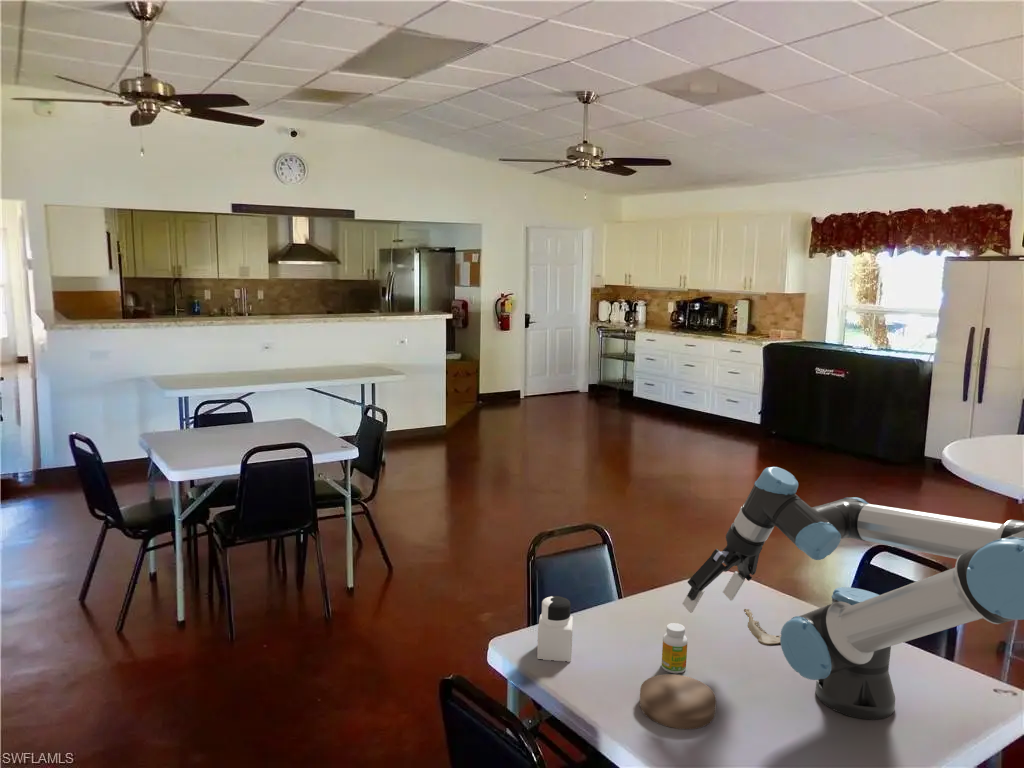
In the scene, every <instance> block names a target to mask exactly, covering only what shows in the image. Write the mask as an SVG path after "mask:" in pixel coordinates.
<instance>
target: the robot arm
mask: <svg viewBox="0 0 1024 768" xmlns="http://www.w3.org/2000/svg"><path fill="white" fill-rule="evenodd" d="M798 489H799V482H798V480H797V478H796V477H795V475H793V474H792V473H791V472H790V471H788V470H786V469H784V468H781V467H778V466H769V467H768V466H767V467H766V468H764V469H763V470H762V472H761V473H760V475H759V477H758V478H757V479H756V480H755V481H754V484H753V487H752V488H751V490H750V492H749V494H748V496H747V498H746V500H745V502H744V503H743V504H742V506H741V507H739V512H737V515H736V517H735V519H734V520H733V522H732V523H731V525H730V527H729V529H728V530H727V532H726V535H725V540H726V546H725V547H724V548H723V549H722V551H720V550H719V548H715V549H714V550H713V552H712V553H711V555H710V556H709V557H708V558H707V560H706V561H705V562H704V563H703V564H702V565H701V566H700V567H699V568H698V569H697V571H696V572H694V574H693V575H692V576H691V577H690V578H689V579H688V581H687V583H688V585H689V586H690V587H691V588H690V589H689V591H688V593H687V594H686V597H684V600H683V602H682V605H683V606H684V607H685V609H686V610H687V611H688V612H689V613H693V612H694V610H695V608H696V606H697V605H698V603H699V602H700V600H701V598H702V597H703V595H704V593H705V588H706V587H708V586H709V585H710V584H711V583H712V582H713V581H715V579H717V578H718V577H719V576H720V575H722V574H723V573H724V572H725V573H726V572H728V571H729V570H731V568H733V567H737V570H736V571H734V572H733V574H732V576H731V577H730V579H729V581H728V582H727V584H726V586H725V587H724V589H723V591H722V593H723V594H724V595H725V596H726V598H727V599H728V600H729V601H731V602H732V601H733V600H734V599H735V597H736V596H737V594H738V592H739V591H740V589H741V587H742V586H743V585H744V583H745V581H748V582H749V581H751V580H752V579H753V578H752V576H754V575H755V574H756V573H757V568H758V562H759V557H760V554H761V552H762V550H763V546H764V545H765V543H766V541H767V540H768V538H769V537H770V535H771V533H772V532H773V530H774V528H778V529H779V531H781V532H782V534H784V535H785V537H787V538H788V539H789V540H790V541H791V542H792V543H793V544H794V545H795V546H796V547H797V548H798V550H800V551H801V552H803V553H804V554H806V555H807V556H808V557H809V558H811V559H812V560H815V561H822V560H823V559H824V560H825V558H827V556H828V557H829V556H830V555H831V554H833V552H834V551H836V549H837V548H838V547H839V545H840V543H841V540H842V539H847V538H848V539H852V540H853V539H854V540H857V541H859V540H860V541H863V542H869V543H874V544H879V545H884V546H889V547H895V548H898V549H899V548H900V549H904V550H911V551H914V552H919V553H924V554H925V553H926V554H930V555H935V556H941V557H945V558H949V559H955V560H956V561H955V567H953V568H950V569H947V570H944V571H942V572H938V573H936V574H934V575H930V576H929V577H925V578H922V579H920V580H918V581H914V582H911V583H909V584H907V585H904V586H901V587H899V588H896V589H893V590H890V591H887V592H884V593H882V594H878V593H875V592H872V591H869V590H866V589H862V588H857V587H856V588H855V587H848V586H840V587H836V588H835V589H833V591H832V595H831V601H832V602H831V603H829V604H827V605H824V606H821V607H820V608H816V609H814V610H811V611H809V612H806V613H803V614H802V615H797V616H793V617H791V618H790V619H789V620H788V621H786V622H785V623H784V624H783V626H782V627H781V629H780V630H781V631H780V635H781V637H780V643H779V644H780V647H781V651H782V653H783V656H784V658H785V659H786V661H787V663H788V664H789V666H790V667H791V668H792V669H793V670H794V671H795V672H796V673H798V674H799V675H800V676H801V677H802V678H805V679H808V680H812V681H815V682H816V683H815V694H816V696H817V698H818V699H819V701H820V702H821V703H822V704H824V706H826V707H828V708H829V709H832V710H833V711H835V712H838V713H840V714H842V715H846V716H847V717H848V716H849V717H852V718H856V719H862V720H881V719H885V718H888V717H890V716H892V714H893V713H894V711H895V709H896V708H895V706H896V695H895V692H894V686H893V684H892V679H891V676H890V672H889V669H890V668H889V667H890V659H891V649H892V647H893V646H896V645H898V644H902V643H906V642H909V641H912V640H915V639H918V638H919V639H920V638H922V637H926V636H928V635H929V636H930V635H932V634H935V633H939V632H942V631H945V630H948V629H952V628H955V627H959V626H962V625H964V624H968V623H972V622H975V621H979V620H983V619H984V620H985V621H987V622H989V623H991V624H993V625H1001V624H1004V623H1008V622H1012V621H1015V620H1016V621H1017V620H1020V621H1022V620H1024V520H1018V519H1009V520H1007V521H1006V522H1005V523H999V522H991V521H986V520H985V521H984V520H978V519H972V518H964V517H957V516H952V515H945V514H938V513H932V512H925V511H919V510H912V509H907V508H905V509H904V508H899V507H892V506H886V505H878V504H871V503H869V502H867V500H865V499H863V498H860V497H856V496H855V497H854V496H853V497H844V498H841V499H838V500H835V501H832V502H827V503H823V504H821V505H815V506H813V507H812V506H810V505H809V504H808V503H807V502H806V501H804V500H803V499H802V498H800V496H798V495H797V494H796V493H797V490H798Z"/></svg>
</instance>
